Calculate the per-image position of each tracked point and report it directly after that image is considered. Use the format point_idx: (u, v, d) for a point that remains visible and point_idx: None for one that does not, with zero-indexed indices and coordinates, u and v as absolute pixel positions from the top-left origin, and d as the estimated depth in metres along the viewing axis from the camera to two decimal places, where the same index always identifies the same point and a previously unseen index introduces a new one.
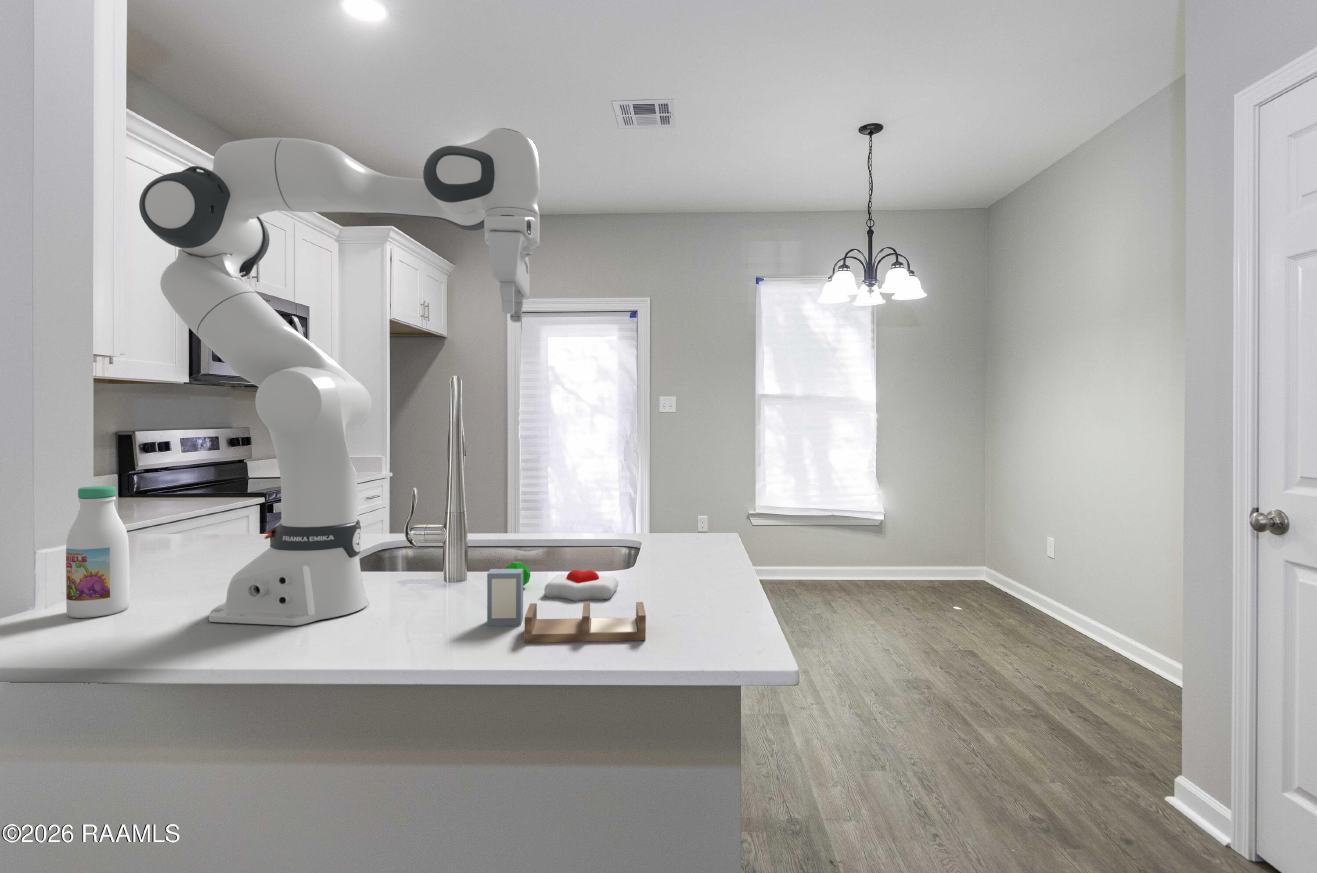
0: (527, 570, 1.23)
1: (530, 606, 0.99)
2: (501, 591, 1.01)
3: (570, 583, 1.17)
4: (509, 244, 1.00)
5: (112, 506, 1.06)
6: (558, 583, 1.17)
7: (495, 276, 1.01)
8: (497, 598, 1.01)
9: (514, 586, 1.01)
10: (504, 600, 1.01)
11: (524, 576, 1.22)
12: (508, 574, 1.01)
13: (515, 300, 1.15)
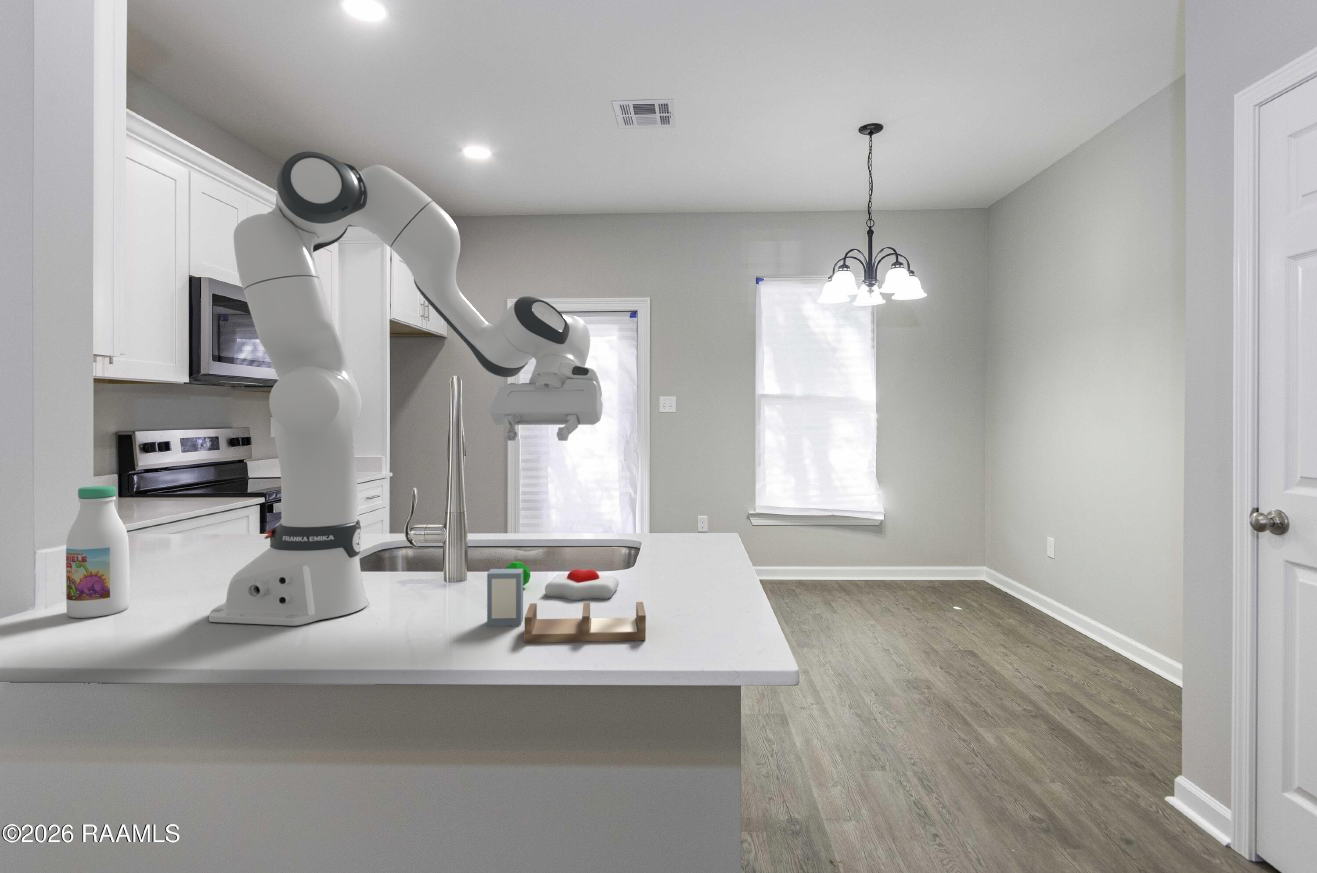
0: (527, 570, 1.23)
1: (530, 606, 0.99)
2: (501, 591, 1.01)
3: (570, 583, 1.17)
4: (601, 402, 1.19)
5: (112, 506, 1.06)
6: (558, 583, 1.18)
7: (592, 412, 1.14)
8: (497, 598, 1.01)
9: (514, 586, 1.01)
10: (504, 600, 1.01)
11: (524, 576, 1.22)
12: (508, 574, 1.01)
13: (512, 422, 1.17)
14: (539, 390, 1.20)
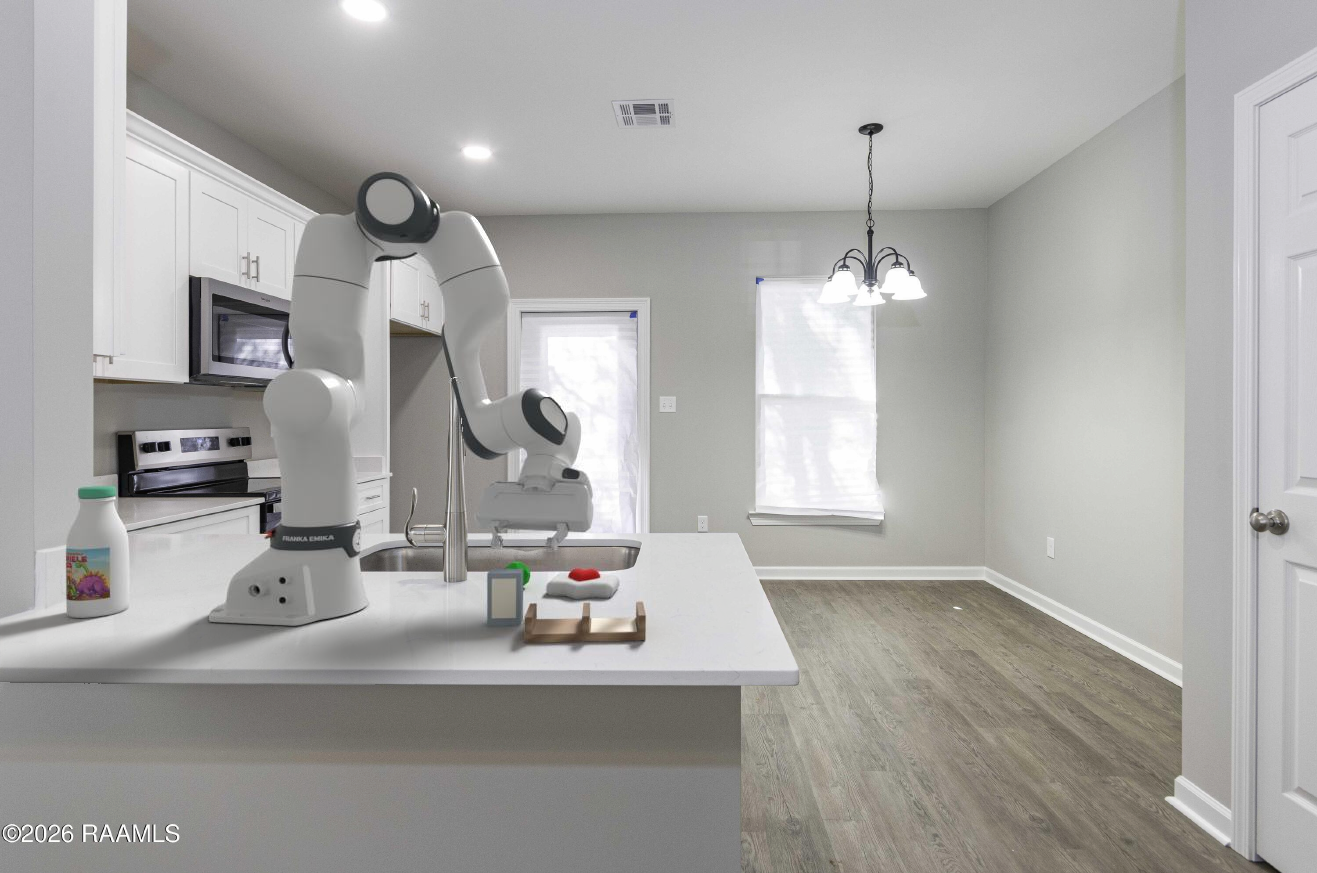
0: (527, 570, 1.23)
1: (530, 606, 0.99)
2: (501, 591, 1.01)
3: (571, 581, 1.18)
4: (592, 506, 1.14)
5: (112, 506, 1.06)
6: (560, 581, 1.18)
7: (582, 522, 1.10)
8: (497, 598, 1.01)
9: (514, 586, 1.01)
10: (504, 600, 1.01)
11: (524, 576, 1.22)
12: (508, 574, 1.01)
13: (499, 528, 1.12)
14: (527, 493, 1.15)
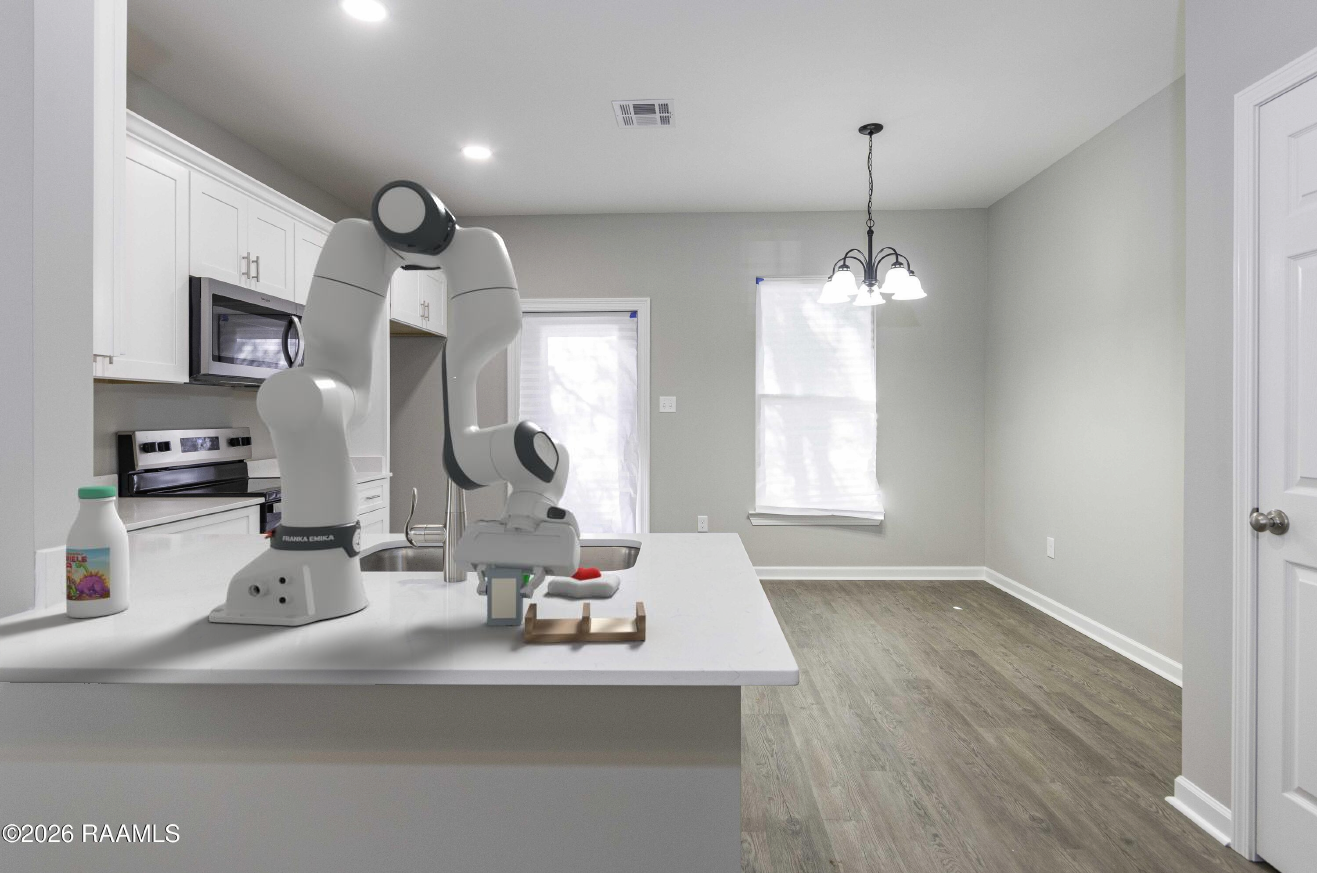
0: None
1: (530, 606, 0.99)
2: (501, 591, 1.01)
3: (573, 580, 1.19)
4: (579, 548, 1.07)
5: (112, 506, 1.06)
6: (561, 580, 1.19)
7: (568, 566, 1.02)
8: (497, 598, 1.01)
9: (514, 586, 1.01)
10: (504, 600, 1.01)
11: (524, 576, 1.22)
12: (508, 574, 1.01)
13: (486, 572, 1.05)
14: (510, 533, 1.08)
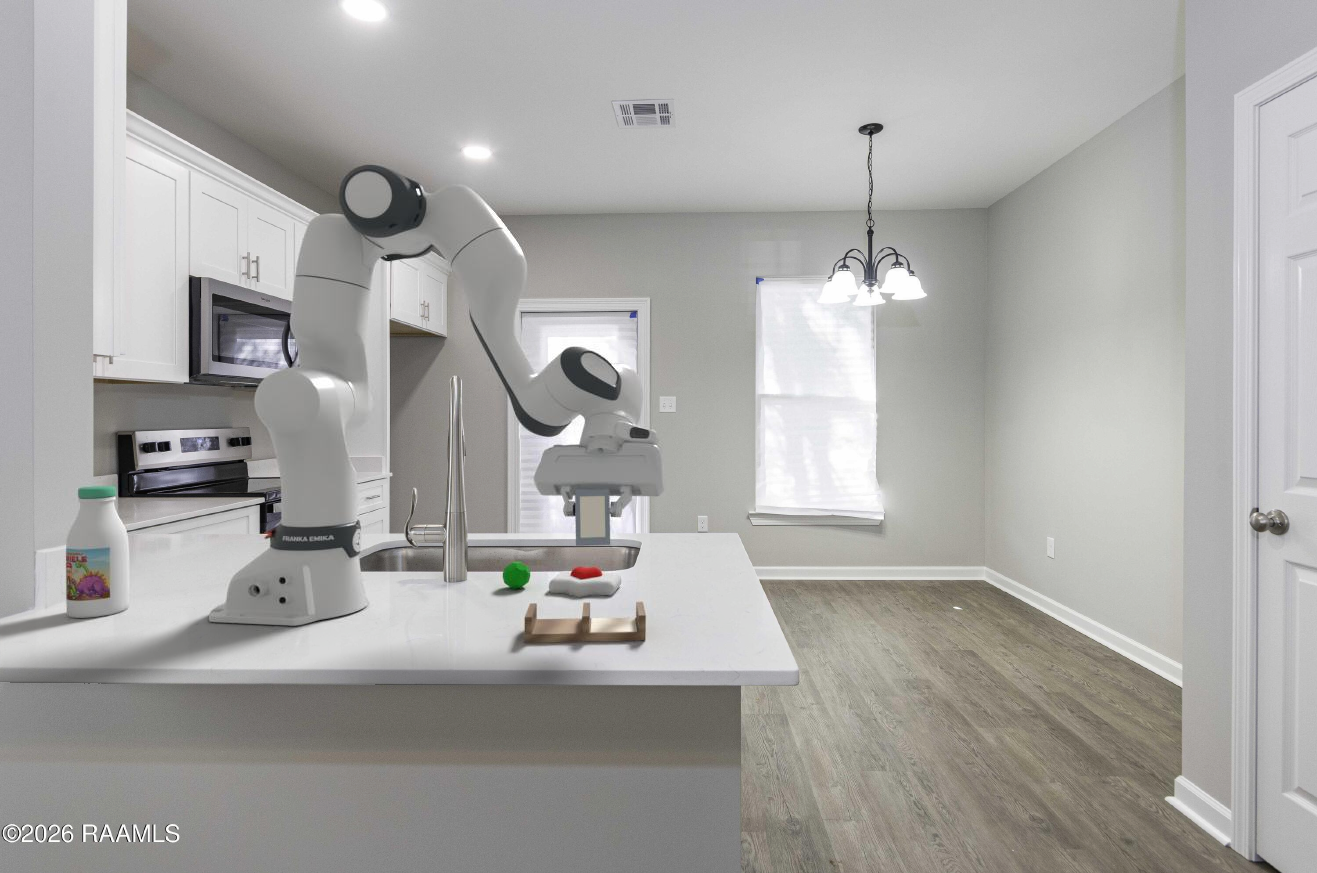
0: (527, 570, 1.23)
1: (530, 606, 0.99)
2: (590, 509, 0.97)
3: (574, 579, 1.20)
4: None
5: (112, 506, 1.06)
6: (562, 579, 1.20)
7: (657, 484, 0.99)
8: (586, 516, 0.97)
9: (603, 504, 0.97)
10: (593, 518, 0.97)
11: (524, 576, 1.22)
12: (596, 491, 0.97)
13: (570, 493, 1.01)
14: (592, 455, 1.04)
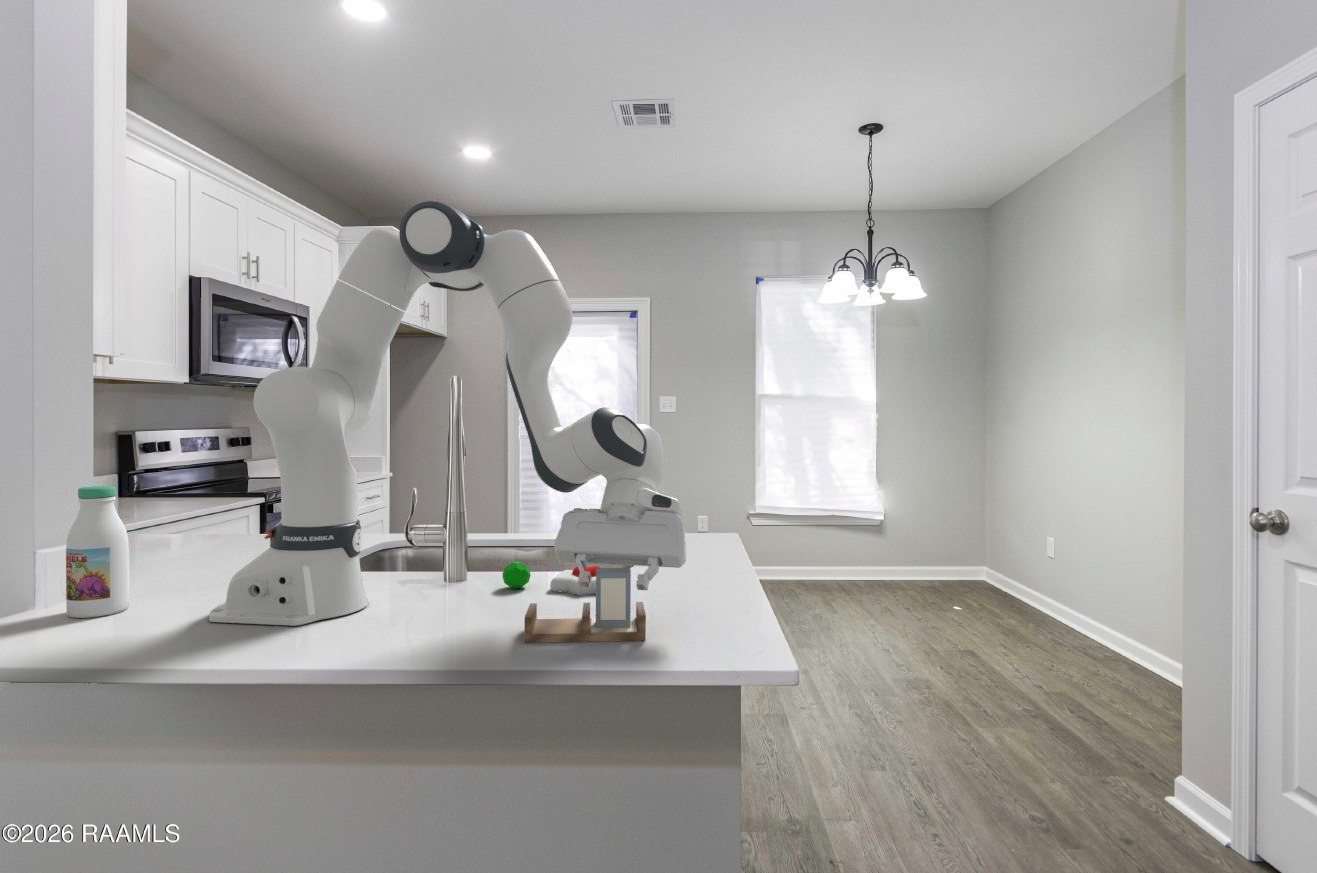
0: (527, 570, 1.23)
1: (530, 606, 0.99)
2: (611, 592, 0.96)
3: (575, 578, 1.20)
4: (685, 538, 1.02)
5: (112, 506, 1.06)
6: (563, 578, 1.21)
7: (679, 556, 0.98)
8: (606, 599, 0.96)
9: (624, 586, 0.96)
10: (613, 601, 0.96)
11: (524, 576, 1.22)
12: (617, 574, 0.96)
13: (585, 562, 1.00)
14: (613, 522, 1.03)
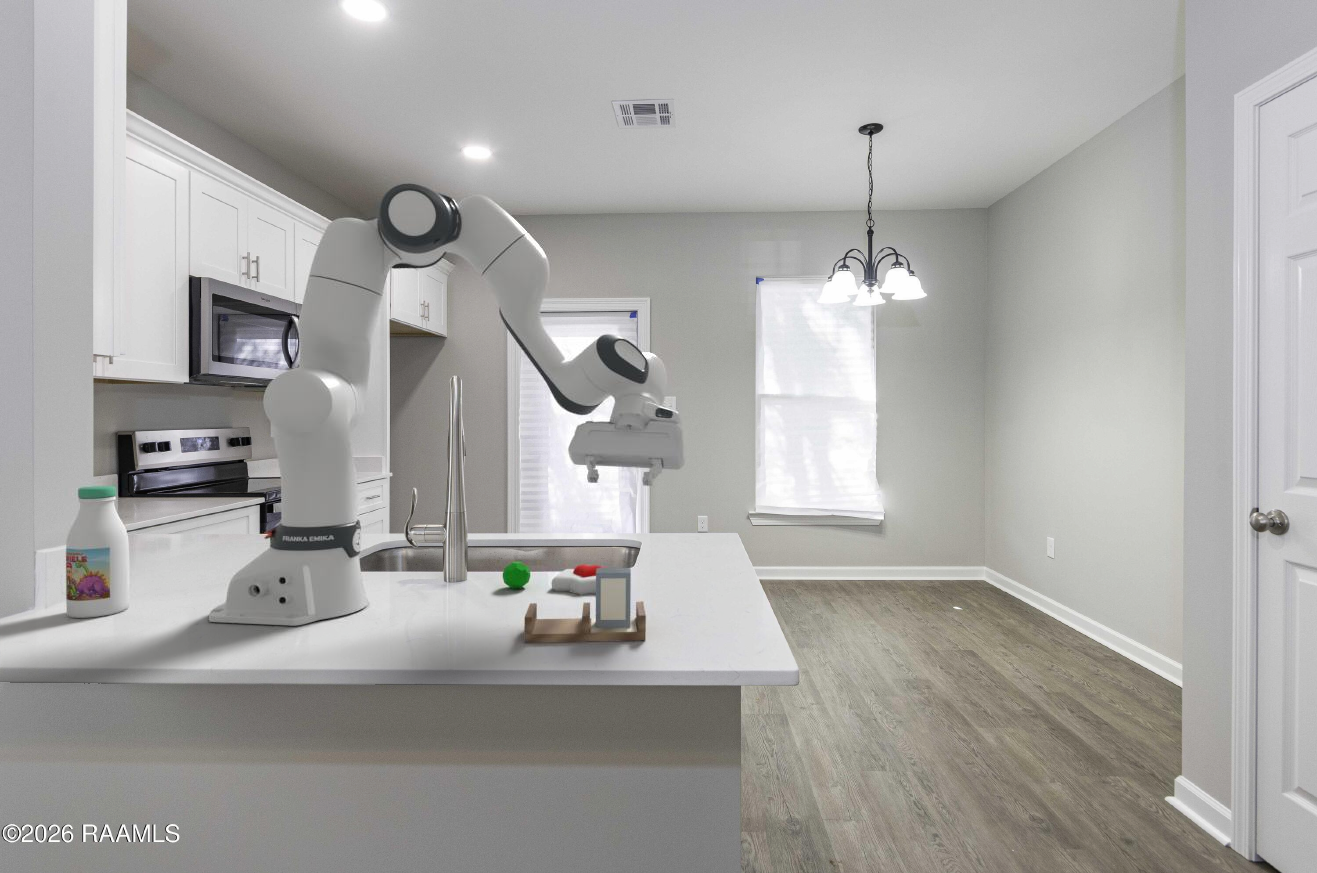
0: (527, 570, 1.23)
1: (530, 606, 0.99)
2: (611, 592, 0.96)
3: (576, 577, 1.21)
4: (684, 446, 1.16)
5: (112, 506, 1.06)
6: (564, 577, 1.22)
7: (678, 458, 1.11)
8: (606, 599, 0.96)
9: (624, 586, 0.96)
10: (613, 601, 0.96)
11: (524, 576, 1.22)
12: (617, 574, 0.96)
13: (594, 463, 1.14)
14: (621, 431, 1.17)
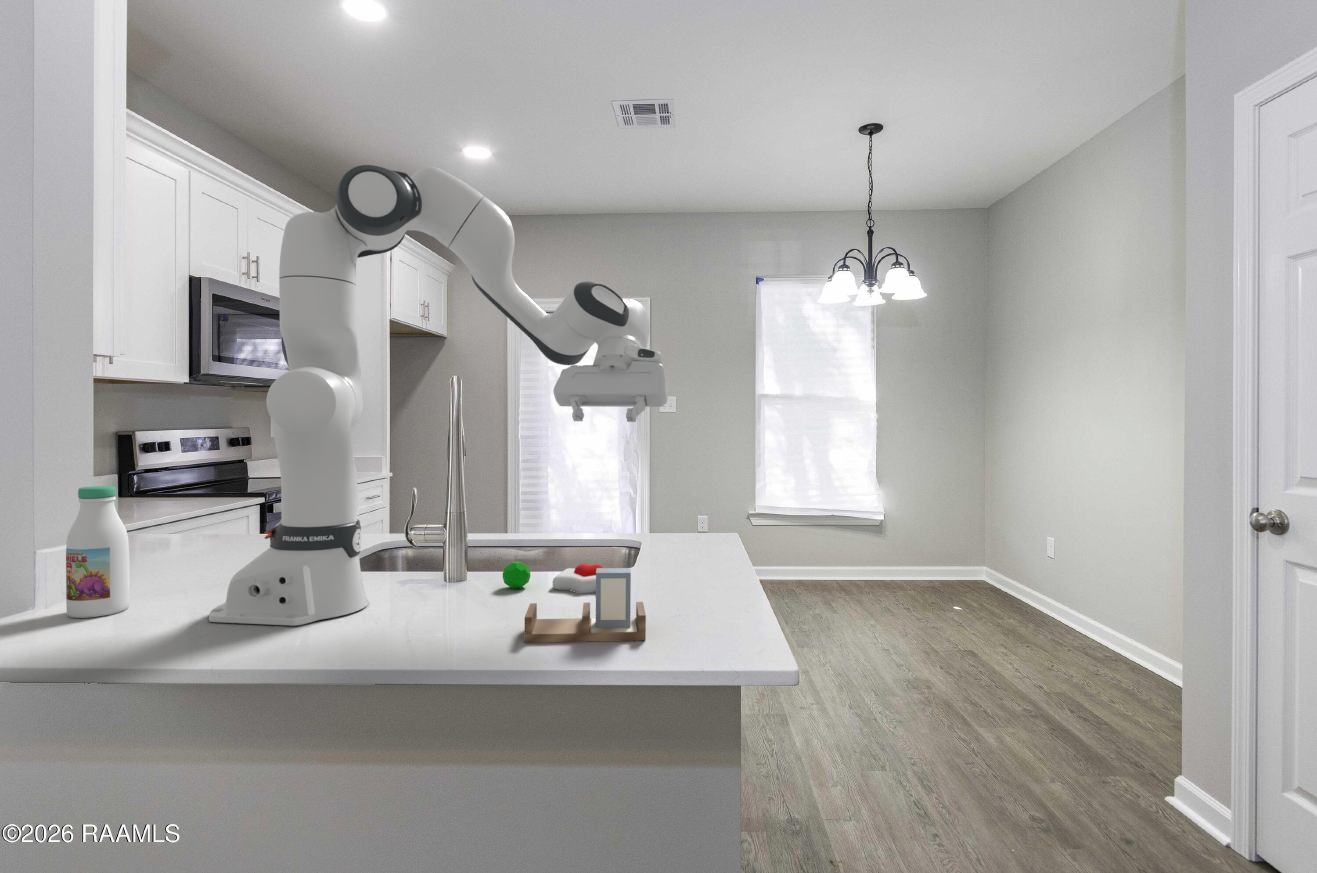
0: (527, 570, 1.23)
1: (530, 606, 0.99)
2: (611, 592, 0.96)
3: (577, 577, 1.22)
4: None
5: (112, 506, 1.06)
6: (565, 576, 1.22)
7: (660, 394, 1.14)
8: (606, 599, 0.96)
9: (624, 586, 0.96)
10: (613, 601, 0.96)
11: (524, 576, 1.22)
12: (617, 574, 0.96)
13: (579, 403, 1.17)
14: (604, 372, 1.19)
